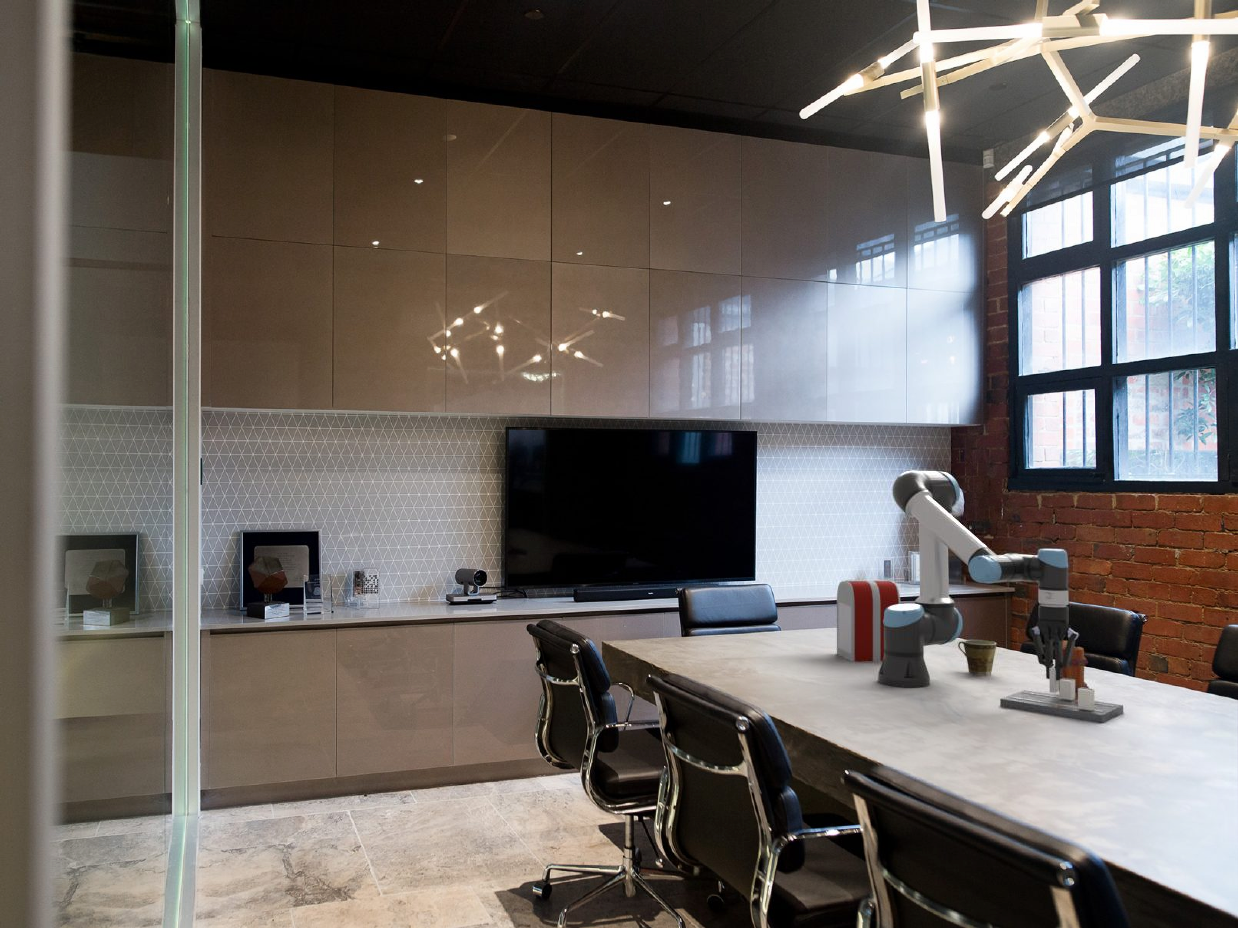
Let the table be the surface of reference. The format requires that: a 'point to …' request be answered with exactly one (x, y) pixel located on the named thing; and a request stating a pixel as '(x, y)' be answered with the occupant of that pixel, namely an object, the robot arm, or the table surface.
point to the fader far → (1067, 689)
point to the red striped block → (863, 618)
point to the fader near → (1085, 698)
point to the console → (1060, 706)
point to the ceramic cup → (979, 656)
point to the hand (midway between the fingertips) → (1054, 691)
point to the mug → (1075, 668)
